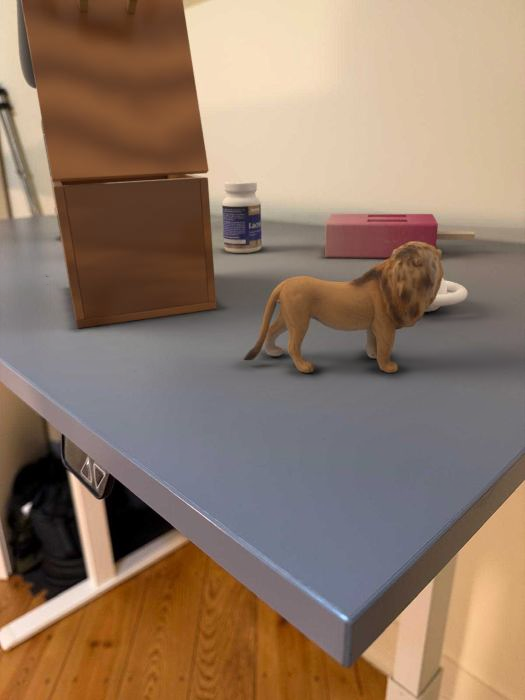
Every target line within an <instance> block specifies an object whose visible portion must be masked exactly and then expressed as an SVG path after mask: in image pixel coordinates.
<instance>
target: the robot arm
mask: <svg viewBox="0 0 525 700" xmlns="http://www.w3.org/2000/svg"><path fill="white" fill-rule="evenodd" d="M16 21H17V22H16V23H17V25H16V26H17V44H18V56H19V63H20V68H21V69H20V70H21V72H22V76H23V78H24V80H25V82H26V84H27V85H28V86H29V87H30V88H32V89H34V90H35V89H36V83H35V77H34V71H33V66H32V60H31V54H30V48H29V42H28V37H27V31H26V25H25V19H24V14H23V8H22V2H21V0H16ZM36 90H37V89H36ZM40 124H41V125H40V126H41V131H42V138H43V143H44V148H45V155H46V160H47V166H48V173H49V179H51V170H50V164H49V158H48V153H47V147H46V141H45V135H44V129H43V124H42V118H41V119H40ZM50 184H51V185H52V183H51V182H50ZM51 189H52V188H51ZM52 191H53V189H52ZM52 195H53V194H52ZM53 197H54V195H53ZM53 201H54V200H53ZM54 203H55V201H54ZM53 210H54V214H56V215H57V213H56V207H55V206H54V207H53ZM56 219H57V221H58V218H57V217H56ZM57 225H58V227H59V224H58V223H57ZM58 235H59V238H60V239H61V236H60V230H59V229H58Z"/></svg>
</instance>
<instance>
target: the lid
mask: <svg viewBox="0 0 525 700" xmlns="http://www.w3.org/2000/svg"><path fill="white" fill-rule="evenodd" d="M21 2H22V8H23V14H24V19H25V25H26V31H27V37H28V42H29V48H30V54H31V60H32V66H33V71H34V77H35V83H36V94H37V100H38V106H39V110H40V111H39V112H40V118H41V119H42V124H43V129H44V134H43V135H45V141H46V147H47V153H48V158H49V164H50V170H51V176H52V181H53V182H63V181H80V180H98V179H115V178H133V177H150V176H168V175H185V174H194V175H200V174H208V172H209V163H208V157H207V151H206V145H205V137H204V130H203V125H202V117H201V111H200V104H199V98H198V92H197V91H198V90H197V85H196V79H195V72H194V65H193V58H192V52H191V46H190V39H189V33H188V26H187V20H186V13H185V6H184V0H21Z"/></svg>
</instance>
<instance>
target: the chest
mask: <svg viewBox="0 0 525 700" xmlns="http://www.w3.org/2000/svg"><path fill="white" fill-rule="evenodd" d="M51 183H52V184H51ZM50 184H51V189H53V190H52V195H54V196H53V201H55V202H54V207H56V213H57V214H56V219H57V218H58V220H57V225H58V224H59V226H58V231H59V230H60V231H59V232H60V235H59V237H60V236H61V238H60V241H61V247H62V253H63V258H64V264H65V271H66V276H67V277H66V278H67V283H68V288H69V294H70V298H71V304H72V308H73V313H74V319H75V323H76V328H77V329H84V328H91V327H98V326H105V325H111V324H119V323H127V322H132V321H140V320H148V319H153V318H160V317H168V316H174V315H175V316H176V315H183V314H188V313H189V314H190V313H196V312H203V311H212V310H217V295H216V279H215V265H214V251H213V235H212V220H211V219H212V218H211V206H210V205H211V203H210V190H209V178H208V177H207V176H202V175H199V174H185V175H168V176H150V177H133V178H115V179H98V180H80V181H63V182H53V181H52V176H51V178H50Z"/></svg>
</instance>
